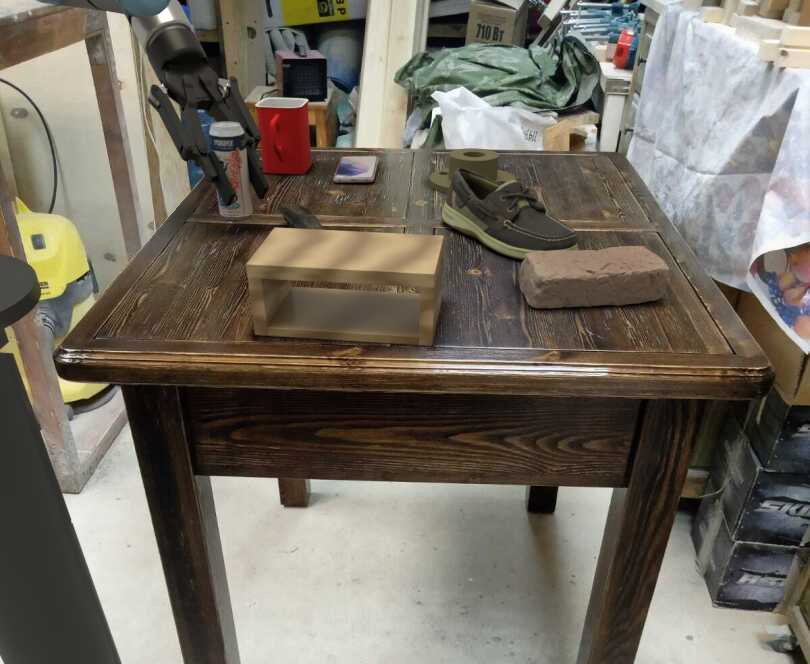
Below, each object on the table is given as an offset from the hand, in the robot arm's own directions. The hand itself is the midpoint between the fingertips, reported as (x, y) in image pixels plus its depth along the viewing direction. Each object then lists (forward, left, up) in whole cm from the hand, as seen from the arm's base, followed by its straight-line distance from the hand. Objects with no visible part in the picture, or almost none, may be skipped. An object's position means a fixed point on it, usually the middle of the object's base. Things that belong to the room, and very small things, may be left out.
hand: (247, 196), depth 107 cm
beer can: (-3, +2, -4) cm, 5 cm away
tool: (+10, -1, -6) cm, 12 cm away
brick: (+47, -15, -6) cm, 50 cm away
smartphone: (+9, +36, -5) cm, 37 cm away
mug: (-4, +35, -6) cm, 35 cm away
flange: (+30, +32, -6) cm, 44 cm away
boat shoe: (+36, +3, -6) cm, 37 cm away
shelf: (+19, -26, -5) cm, 33 cm away
